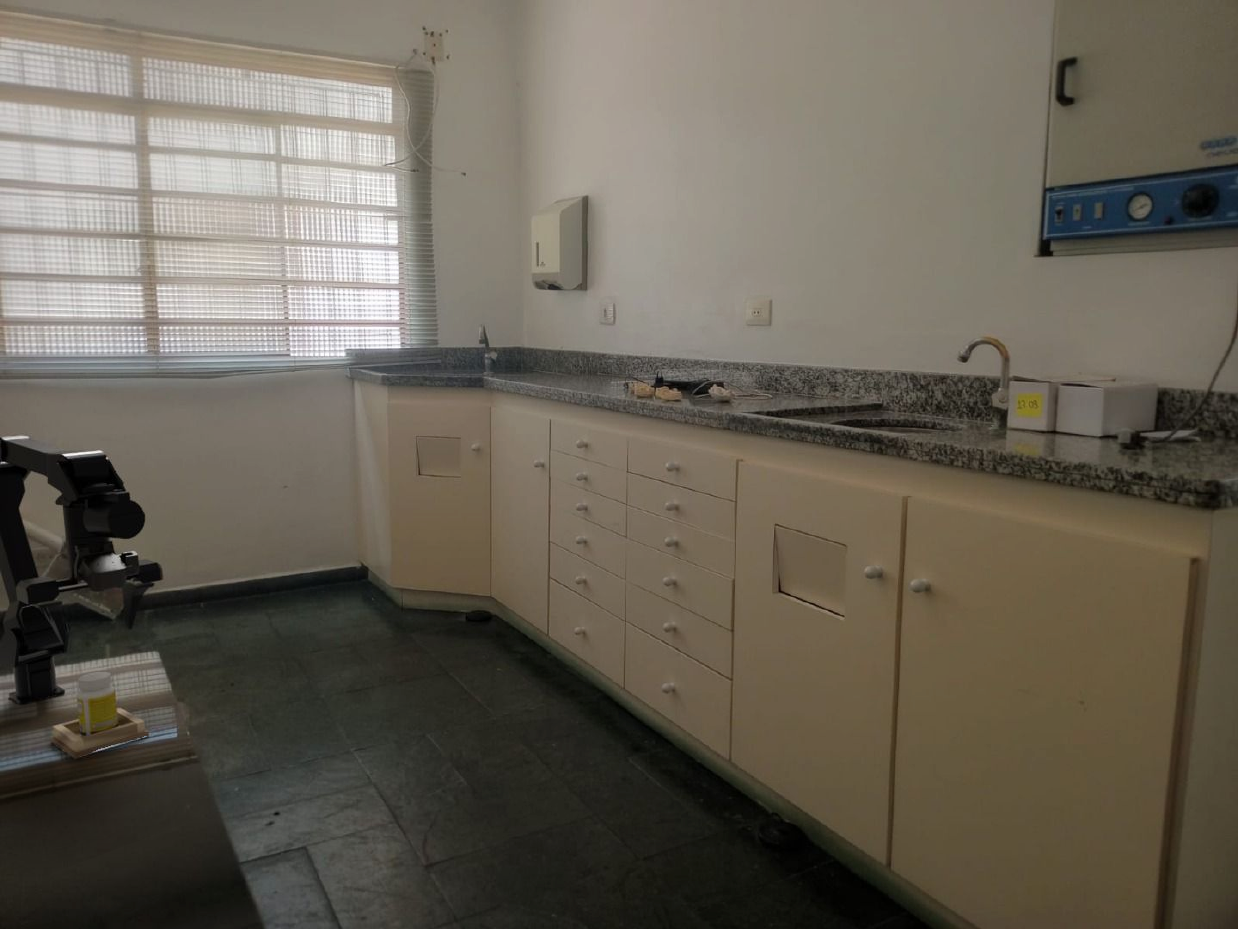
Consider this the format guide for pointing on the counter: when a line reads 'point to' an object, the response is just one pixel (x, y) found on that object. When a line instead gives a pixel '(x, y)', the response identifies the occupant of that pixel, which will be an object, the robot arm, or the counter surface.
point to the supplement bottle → (96, 703)
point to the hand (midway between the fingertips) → (97, 636)
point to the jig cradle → (97, 735)
